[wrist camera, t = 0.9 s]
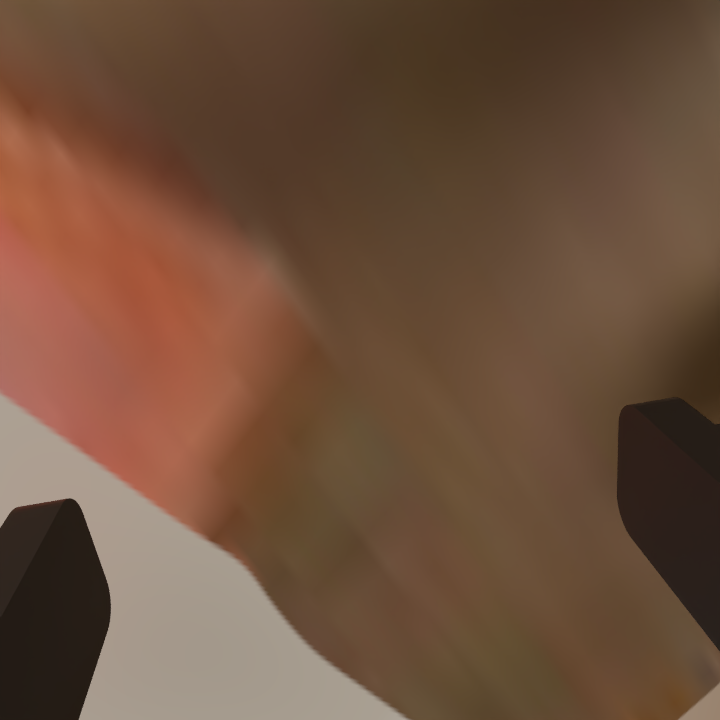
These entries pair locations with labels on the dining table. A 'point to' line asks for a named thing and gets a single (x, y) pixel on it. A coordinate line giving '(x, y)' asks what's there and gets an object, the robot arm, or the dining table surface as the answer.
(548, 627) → the dining table surface
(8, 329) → the dining table surface
